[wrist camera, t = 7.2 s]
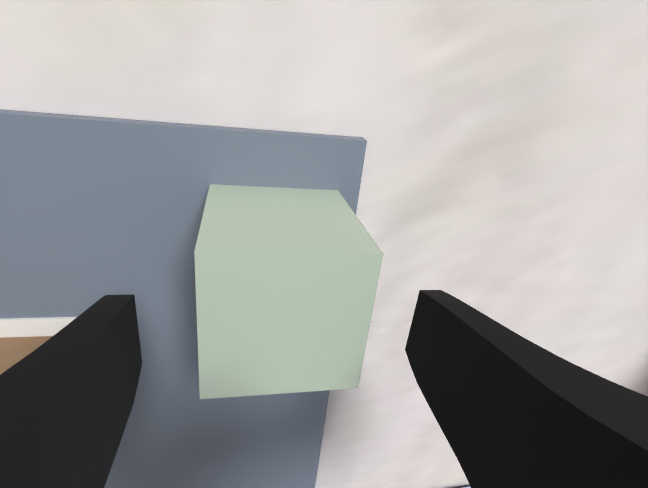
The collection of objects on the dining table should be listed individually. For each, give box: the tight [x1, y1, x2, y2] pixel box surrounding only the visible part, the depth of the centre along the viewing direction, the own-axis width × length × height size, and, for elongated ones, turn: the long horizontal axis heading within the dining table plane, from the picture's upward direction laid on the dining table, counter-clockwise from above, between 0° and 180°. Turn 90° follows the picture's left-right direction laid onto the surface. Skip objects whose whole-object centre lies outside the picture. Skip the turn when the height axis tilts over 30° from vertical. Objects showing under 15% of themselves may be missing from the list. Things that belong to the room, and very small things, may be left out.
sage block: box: [194, 184, 383, 399], centre depth 12 cm, size 4×4×5 cm
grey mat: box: [0, 110, 367, 488], centre depth 16 cm, size 20×16×1 cm
